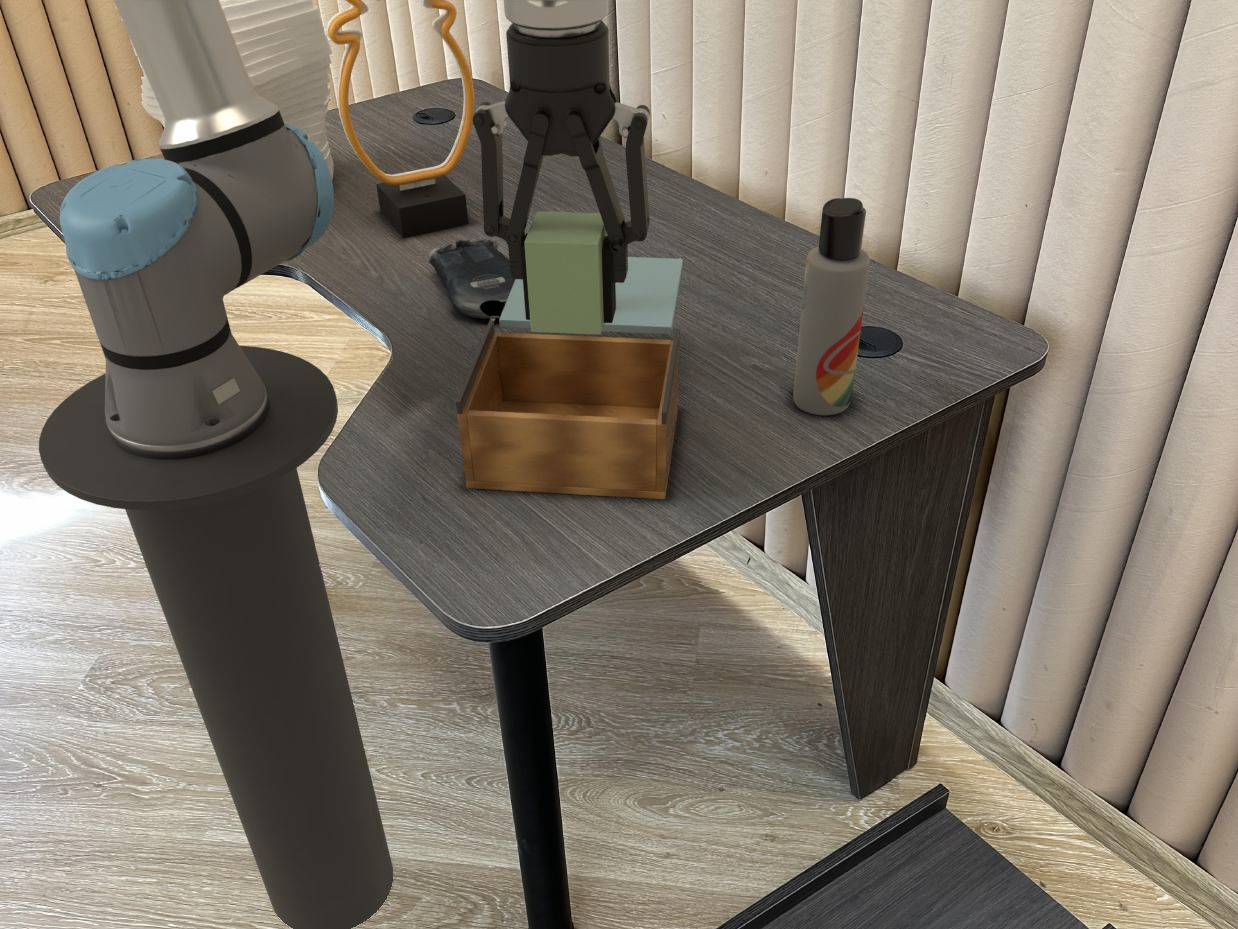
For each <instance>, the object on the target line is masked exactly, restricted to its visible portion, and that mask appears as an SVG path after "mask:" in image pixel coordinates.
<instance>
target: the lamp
mask: <svg viewBox="0 0 1238 929" xmlns="http://www.w3.org/2000/svg"><path fill="white" fill-rule="evenodd" d="M345 1H346V2H347V3H348V4H350V6H349V7H348V8H345V9H343V10H341V11H339V12H337V13H335V14H334V15H333V16H332V17H331V18H330V19H329V20H328V22H327V25H326V29H325V31H326V36H327V38H329V40H331V41H332V43H334V44H336V45H346V46H345V49H344V51H343V54H342V56H341V61H340V66H339V71H338V78H337V91H336V96H337V98H336V100H337V109H338V116H339V118H340V123H341V127H342V129H343V132H344V135H345V137H346V139H347V141H348V143H349V145H350V147H351V148H352V150H353V152H354V153H355V155H356V156H357V158H358V159H359V160H360V162H361V163H362V164H363V165H364V167H365V168H366V169H367V170H368V172H370V173H371V174H372V175H373V176H374V177H375V178H376V179H378V180H379V181H380V182H379V183H376V192H377V198H378V205H379V212H380V214H381V215H382V216H383V217H384V218H385V219H386V220H387V221H388V223H389V224H390V225H391V226H392V227H393V228H394V229H395V231H397V233H398V234H399V235H400V236H401V237H402V238H403V239H404V238H409V237H414V236H418V235H424V234H427V233H431V232H437V231H442V230H445V229H451V228H455V227H459V226H464V225H469V215H468V206H467V205H468V204H467V196H466V194H465V193H464V191H463V190H461V188H459V187H458V186H457V185H456V184H455V183H454V182H453V181H452V180H450V178H449V177H448V176H446V175H448V174H449V173H451V172H452V171H453V170H454V169H455V167H456V166H457V165H458V163H459V161H460V160H461V158H462V156H463V154H464V152H465V149H466V147H467V144H468V141H469V139H470V136H471V132H472V128H473V120H472V119H473V116H474V114H475V103H476V102H475V99H476V98H475V87H474V82H473V77H472V72H471V69H470V67H469V63H468V61H467V59H466V56H465V55H464V53H463V51H462V49H461V47H460V45H459V44H458V42H457V41H456V39H455V37H454V36H453V34H452V33H451V32H450V30H451V29H452V27H453V26H454V24H455V22H456V21H455V20H457V19H456V18H457V14H458V13H457V8H456V6H455V5H454V4H453V3H452V2H451V1H450V0H421V1H420V2H421V6H423V7H424V8H426V9H437V10H443V11H444V12H442V14H440V15H439V16H438V17H436V18H435V19H434V20H432V22H431V27H432V29H433V30H434V31H435V32H436V33H437V34H438V36H439V37H440V38H442V40H443V41H444V43H445V45H446V46H447V47H448V49H449V51H450V52H451V54H452V57H453V58H454V60H455V63H456V65H457V68H458V70H459V74H460V78H461V84H462V92H463V105H462V116H461V120H460V125H459V128H458V132H457V135H456V138H455V141H454V143H453V145H452V148H451V151H450V152H449V153H448V155H447V157H446V159H445V160H443V162H442V163H440V164H438V165H435V166H430V167H426V168H420V169H415V170H411V171H405V172H399V173H394V174H390V173H385V172H383V171H382V170H381V169H379V168H378V166H377V165H376V164H375V163H374V162H373V161H372V159H371V158H370V156H369V155H368V154H367V152H366V151H365V149H364V148H363V147H362V144H361V142H360V140H359V139H358V137H357V134H356V132H355V129H354V125H353V121H352V118H351V112H350V105H349V101H350V100H349V92H350V91H349V90H350V83H351V77H352V72H353V69H354V66H355V63H356V60H357V57H358V55H359V52H360V50H361V41H362V37H363V33H362V32H361V31H360V30H357V29H345V30H341V28H342V27H343V26H344V25H346V24H348V23H349V22H351V21H354V20H356V19H358V18H359V17H361V16H362V15H364V14H366V13H368V11H369V7H368V4H366V3H365V2H364V1H363V0H345ZM377 1H378V2H380V1H381V0H377Z"/></svg>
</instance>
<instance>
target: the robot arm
mask: <svg viewBox="0 0 1238 929" xmlns="http://www.w3.org/2000/svg"><path fill="white" fill-rule="evenodd" d="M113 3H114V6H115V5H116V7H117V9H116V10H117V12H118V14H119V17H120V20H121V19H122V20H121V22H122V23H123V26H124V28H125V31H126V32H127V35H128V37H129V40H130V39H131V41H130V43H131V42H132V44H133V45H132V44H131V45H132V47H133V46H134V49H135V51H136V53H137V55H138V56H137V57H138V58H139V60H140V62H141V65H142V67H143V69H144V71H145V74H146V76H147V78H148V81H149V83H150V85H151V88H152V90H153V92H154V94H155V97H156V99H157V101H158V104H159V106H160V108H161V110H162V113H163V115H164V117H165V127H164V126H163V130H162V133H161V135H160V138H159V140H158V142H157V143H158V147H159V150H160V152H161V154H162V157H163V158H164V159H162V158H139V159H132V160H129V161H128V162H127V163H125V164H119V163H114V164H112V165H109V166H107V167H103V168H102V169H99V170H97V171H95V172H93V173H91V174H89V175H88V176H85V177H84V178H82V179H81V180H80V181H79V182H77V183H76V184H75V185H74V186H72V187H71V189H70V190H69V191H68V192H67V194H66V195H65V197H64V198H63V200H62V203H61V206H60V209H59V224H60V228H61V232H62V236H63V240H64V244H65V251H66V257H67V260H68V262H69V263H70V265H71V267H72V269H73V270H74V273H75V276H76V280H77V282H78V285H79V287H80V290H81V293H82V296H83V299H84V302H85V304H86V307H87V310H88V313H89V316H90V319H91V321H92V324H93V328H94V330H95V333H96V336H97V339H98V342H99V344H100V347H101V350H102V353H103V355H104V359H105V373H106V380H105V416H106V423H107V426H108V429H109V431H110V434H111V437H112V439H113V440H114V442H115V443H116V444H117V445H118V446H119V447H120V448H122V449H123V450H125V451H127V452H129V453H132V454H134V455H138V456H142V457H146V458H154V459H181V458H190V457H196V456H200V455H205V454H209V453H212V452H215V451H218V450H221V449H224V448H226V447H229V446H231V445H233V444H235V443H237V442H239V441H241V440H242V439H244V438H246V437H247V436H249V435H250V434H251V433H253V432H254V431H255V430H256V429H257V428H258V427H259V426H260V425H261V424H262V423H263V421H264V420H265V418H266V416H267V414H268V411H269V401H268V397H267V393H266V389H265V386H264V384H263V382H262V379H261V378H260V376H259V375H258V373H257V372H256V371H255V369H254V367H253V366H252V364H251V363H250V361H249V360H248V358H247V356H246V355H245V353H244V352H243V350H242V349H241V347H240V346H241V345H239V343H238V342H237V339H236V338H235V337H234V335H233V333H232V329H231V326H230V321H229V318H228V315H227V310H226V306H225V302H224V297H225V296H226V295H228V294H229V293H231V292H233V291H235V290H236V289H238V288H240V287H242V286H244V285H246V284H247V283H249V282H251V281H253V280H254V279H257V278H258V277H260V276H261V275H263V274H265V273H268V272H269V271H270V270H272V269H274V268H276V267H278V266H279V265H281V264H283V263H284V262H289V261H292V260H294V259H296V258H298V257H299V256H300V255H302V254H303V253H304V252H305V251H306V250H307V249H308V248H309V247H311V246H312V245H313V244H315V243H317V242H318V241H320V239H321V238H322V237H323V236H324V234H325V233H326V232H327V230H328V228H329V224H330V222H331V220H332V218H333V215H334V208H335V207H334V206H335V191H334V184H333V180H332V178H331V175H330V171H329V168H328V166H327V163H326V161H325V159H324V157H323V155H322V153H321V152H320V150H319V148H318V147H317V145H316V144H315V143H314V142H309V141H308V136H307V134H305V133H304V132H303V131H302V130H301V129H299V128H298V127H296V126H294V125H291V124H287V123H284V121H283V119H282V116H281V114H280V111H279V108H278V106H277V105H275V104H273V103H272V102H270V101H268V100H266V99H264V98H262V97H261V96H259V95H258V94H257V93H256V92H255V91H254V89H253V86H252V84H251V81H250V78H249V76H248V73H247V71H246V68H245V66H244V63H243V61H242V58H241V55H240V53H239V50H238V48H237V45H236V43H235V40H234V38H233V35H232V32H231V30H230V27H229V25H228V22H227V20H226V17H225V14H224V12H223V9H222V7H221V4H220V2H219V0H113ZM116 7H115V8H116ZM503 10H504V16H505V19H506V20H508V21H509V22H510V23H511V24H510V25H509V26H508V28H507V29H506V32H505V37H506V50H507V62H508V63H507V64H508V75H509V90H508V94H507V96H506V98H505V99H504V100H502V101H499V102H496V103H490V102H488V101H483V102H481V103H480V104H479V106H478V107H477V109H476V111H474V116H473V119H472V120H473V123H472V125H473V126H474V129H475V132H476V134H477V137H478V140H479V143H480V153H481V154H480V155H481V158H480V159H481V187H482V190H481V191H482V215H483V216H482V217H483V218H482V220H483V233H484V235H485V236H487V237H490V238H494V237H497V238H500V239H502V240H504V242H505V243H506V245H507V247H508V248H507V252H508V259H509V262H510V274H511V276H512V278H513V279H523V289H524V302H525V315H526V320H530V310H529V296H528V283H527V270H526V256H525V243H524V242H525V239H526V237H527V235H528V232H526V231H525V230H526V228H527V226H528V220H529V216H530V212H531V208H532V204H533V199H534V195H535V193H536V188H537V184H538V179H539V175H540V172H541V169H542V164H543V160H544V156H545V157H547V156H548V157H552V156H557V155H560V154H562V155H566V156H568V157H578V159H579V162H580V165H581V167H582V169H583V170H584V171H585V174H586V177H587V180H588V183H589V185H590V189H591V192H592V195H593V197H594V200H595V203H596V206H597V209H598V213H600V215H601V218H602V221H603V224H604V226H605V229H606V232H607V235H608V236H606V237H605V240H604V244H603V247H602V278H603V312H604V323H613V319H614V315H615V311H616V283H624V281H625V279H626V276H627V272H628V257H629V251H628V249H629V247H628V245H630V244H631V243H633V242H644V241H645V240H646V239H647V236H648V232H649V227H650V221H651V220H650V208H649V205H650V204H649V192H648V177H647V164H646V161H647V160H646V148H645V134H646V130H647V127H648V123H649V119H650V116H651V110H650V108H649V107H648V106H646V104H639V105H638V106H637V107H635V106H631V105H627V104H625V103H621V102H618V101H617V97H616V95H615V93H614V92H613V89H612V86H611V81H610V80H611V79H610V75H611V74H610V39H609V38H610V37H609V33H610V32H609V27H608V26H607V25H606V23H605V21H603V20H605V18H606V17H607V15H608V14H609V0H503ZM134 49H133V50H134ZM138 58H137V59H138ZM507 118H509V119H510V120H511V122H512V123H513V124H514V126H515V127H516V128H517V129H518V131H519V132H520V133H521V135H522V136H523V137H524V139H525V140H526V141H527V145H526V150H525V153H524V158H523V162H522V163H523V164H522V168H521V173H520V176H519V181H518V185H517V189H516V193H515V197H514V202H513V204H512V209H511V214H510V218H509V217H507V216H505V214H504V210H505V209H504V207H505V206H504V204H505V203H504V160H503V159H504V158H503V155H504V154H503V133H504V132H505V129H506V128H507ZM612 120H614V121H615V122H616V123H617V124H618V125H617V126H618V133H619V135H620V136H621V137H622V138H624V139H626V142H625V162H626V163H625V164H626V176H627V189H628V201H629V203H628V204H629V214H630V215H629V216H630V220H628V221H626V219H625V214H624V212H623V209H622V207H621V203H620V201H619V197H618V195H617V192H616V188H615V185H614V182H613V179H612V177H611V173H610V170H609V167H608V164H607V161H606V158H605V154H604V149H603V148H604V147H603V144H602V142H601V138H600V137H601V136H602V134H603V132H604V131H605V130H606V129H607V127H608V126H609V124H610V122H611V121H612Z"/></svg>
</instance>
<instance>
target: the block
mask: <svg viewBox="0 0 1238 929" xmlns="http://www.w3.org/2000/svg"><path fill="white" fill-rule="evenodd" d="M527 233H528V235H527V237H526V239H525V242H524V243H525V256H526V270H527V283H528V296H529V310H530V323H531V328H530V332H531V333H544V334H547V333H548V334H569V335H570V334H571V335H594V336H596V335H598V336H601V335H602V334H603V332H602V330H603V326H604V312H603V278H602V247H603V244H604V240H605V237H606V236H608V235H607V232H606V229H605V226H604V224H603V221H602V218H601V215H600V212H570V211H568V212H566V211H536V213H535V216H534V218H533V220H532V223H531V224H530V227H529V229H528V232H527Z"/></svg>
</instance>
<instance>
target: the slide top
mask: <svg viewBox="0 0 1238 929" xmlns="http://www.w3.org/2000/svg"><path fill="white" fill-rule="evenodd" d="M683 267H684V258H670V257H669V258H667V257H666V258H665V257H641V256H628V272H627V276H626V279H625V281H624V283H616V311H615V315H614V319H613V323H604V326H603V330H602V333H603V332H605V333H623V334H624V333H626V334H648V335H669V336H671V335H672V333H673V328H674V322H675V316H676V310H677V304H678V299H679V298H678V297H679V292H680V286H681V281H682V280H681V279H682V274H683V269H684V268H683ZM498 321H499V328H510V329H511V328H512V329H531V323H530V320H526V315H525V302H524V289H523V279H515V282H514V284H513V287H512V289H511V292H510V294H509V297H508V299H507V302H506V304H505V307H504V309H503V312H502V314H501V317H499V318H498Z"/></svg>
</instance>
